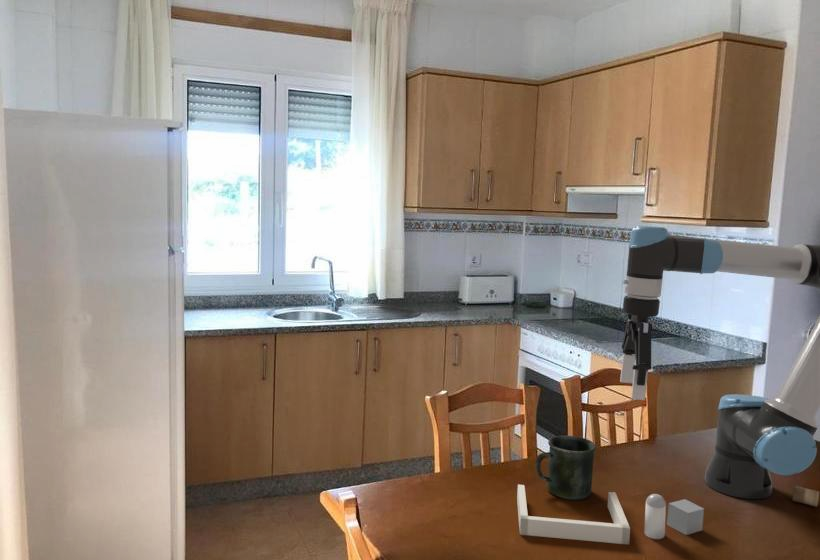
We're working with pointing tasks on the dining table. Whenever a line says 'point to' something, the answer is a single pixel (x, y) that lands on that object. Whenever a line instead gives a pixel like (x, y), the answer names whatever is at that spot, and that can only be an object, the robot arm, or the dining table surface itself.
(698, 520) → the grey box
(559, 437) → the mug
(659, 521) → the cylinder
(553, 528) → the corral
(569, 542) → the dining table surface
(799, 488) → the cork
